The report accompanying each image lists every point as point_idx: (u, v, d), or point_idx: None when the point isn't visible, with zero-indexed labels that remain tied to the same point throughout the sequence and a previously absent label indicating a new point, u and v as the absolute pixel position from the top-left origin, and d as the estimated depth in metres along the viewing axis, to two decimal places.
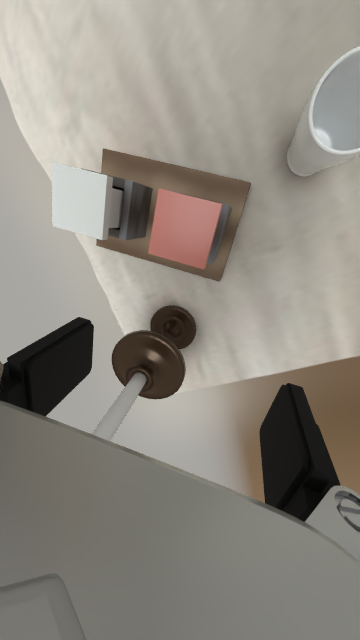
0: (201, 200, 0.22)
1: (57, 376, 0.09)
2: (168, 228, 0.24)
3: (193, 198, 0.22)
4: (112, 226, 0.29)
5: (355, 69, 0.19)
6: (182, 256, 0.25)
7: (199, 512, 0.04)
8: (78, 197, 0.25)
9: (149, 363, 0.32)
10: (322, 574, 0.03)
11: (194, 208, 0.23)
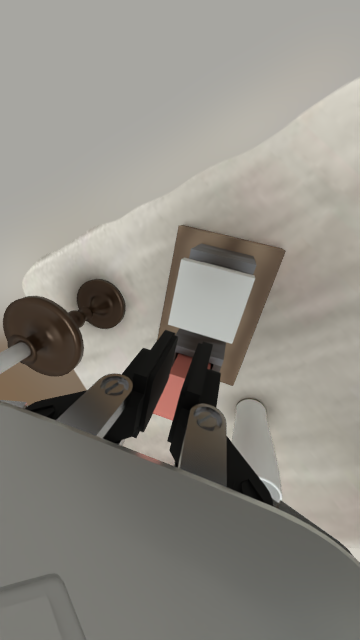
0: None
1: (158, 387, 0.10)
2: None
3: None
4: None
5: None
6: None
7: (198, 511, 0.04)
8: (213, 306, 0.21)
9: (46, 344, 0.29)
10: (322, 574, 0.03)
11: None
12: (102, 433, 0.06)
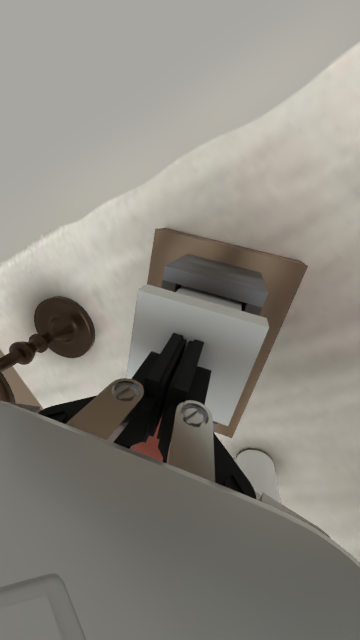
0: None
1: (167, 391, 0.10)
2: None
3: None
4: None
5: None
6: None
7: (199, 512, 0.04)
8: None
9: None
10: (322, 574, 0.03)
11: None
12: (111, 439, 0.06)
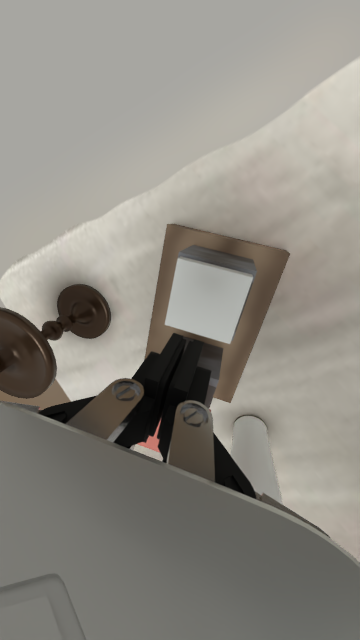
0: None
1: (167, 391, 0.10)
2: None
3: None
4: None
5: None
6: None
7: (199, 512, 0.04)
8: (210, 305, 0.20)
9: (12, 363, 0.25)
10: (322, 574, 0.03)
11: None
12: (111, 439, 0.06)
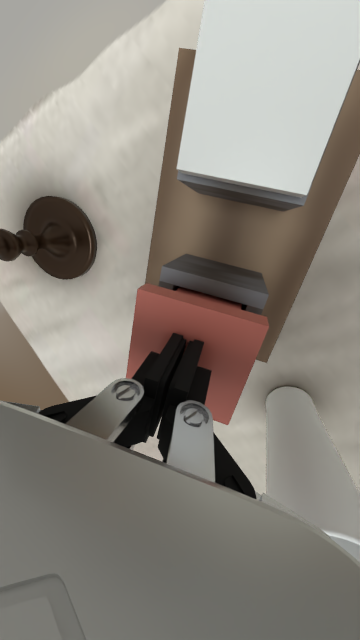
0: (236, 398, 0.12)
1: (167, 391, 0.10)
2: (189, 338, 0.12)
3: (241, 386, 0.12)
4: None
5: None
6: (140, 356, 0.13)
7: (199, 511, 0.04)
8: (274, 101, 0.10)
9: None
10: (322, 574, 0.03)
11: (223, 386, 0.12)
12: (111, 439, 0.06)
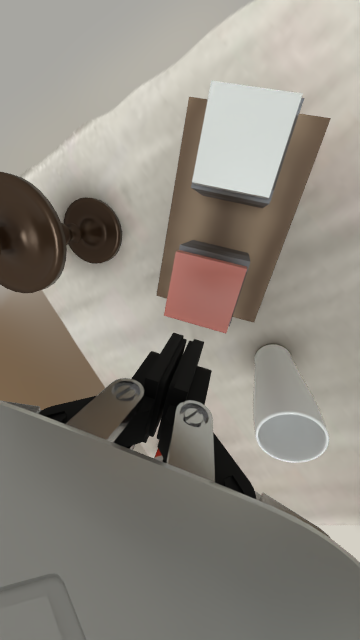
0: (230, 314, 0.22)
1: (167, 391, 0.10)
2: (204, 279, 0.21)
3: (233, 306, 0.21)
4: None
5: (317, 422, 0.24)
6: (174, 293, 0.22)
7: (198, 511, 0.04)
8: (248, 144, 0.18)
9: (16, 243, 0.22)
10: (322, 574, 0.03)
11: (223, 307, 0.22)
12: (111, 439, 0.06)
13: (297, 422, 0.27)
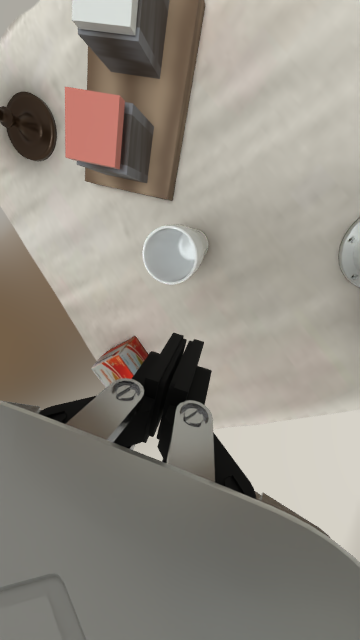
0: (115, 146, 0.26)
1: (167, 391, 0.10)
2: (90, 112, 0.25)
3: (115, 137, 0.26)
4: None
5: None
6: (70, 131, 0.26)
7: (199, 510, 0.04)
8: None
9: None
10: (322, 574, 0.03)
11: (108, 139, 0.26)
12: (111, 439, 0.06)
13: None
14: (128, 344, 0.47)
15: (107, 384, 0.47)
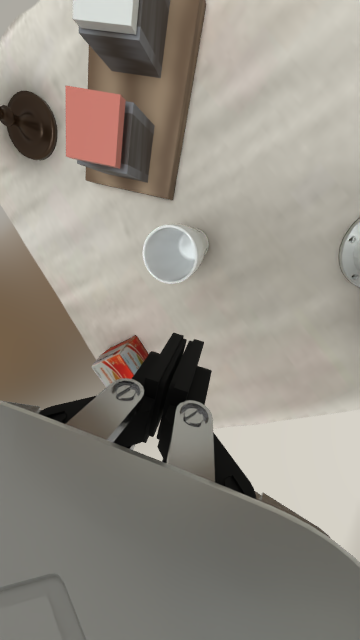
0: (115, 145, 0.26)
1: (167, 391, 0.10)
2: (90, 111, 0.25)
3: (116, 136, 0.26)
4: None
5: None
6: (71, 130, 0.26)
7: (199, 512, 0.04)
8: None
9: None
10: (322, 574, 0.03)
11: (109, 138, 0.26)
12: (111, 440, 0.06)
13: None
14: (129, 343, 0.47)
15: (107, 383, 0.47)
